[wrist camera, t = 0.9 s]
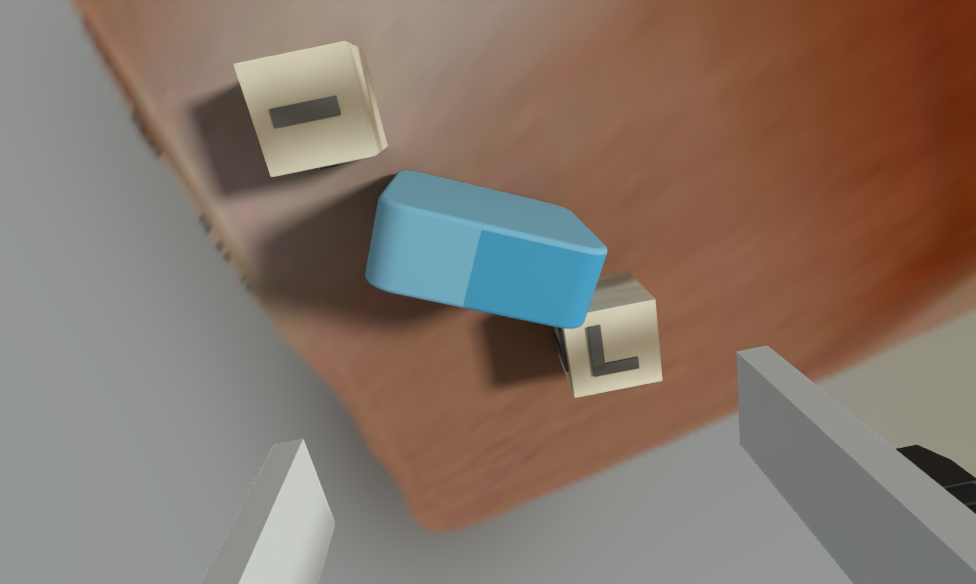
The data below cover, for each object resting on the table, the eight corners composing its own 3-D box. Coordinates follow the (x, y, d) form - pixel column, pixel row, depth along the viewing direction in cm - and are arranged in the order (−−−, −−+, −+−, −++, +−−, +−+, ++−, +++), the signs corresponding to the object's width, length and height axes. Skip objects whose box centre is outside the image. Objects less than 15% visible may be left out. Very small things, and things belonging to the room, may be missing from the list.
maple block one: (267, 69, 34) (228, 64, 28) (363, 49, 34) (344, 40, 28) (297, 167, 36) (267, 181, 30) (388, 149, 36) (375, 160, 30)
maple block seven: (544, 286, 40) (559, 319, 34) (627, 270, 40) (656, 300, 34) (556, 360, 42) (572, 402, 36) (634, 344, 42) (663, 384, 36)
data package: (388, 230, 38) (359, 288, 27) (400, 166, 36) (374, 199, 25) (551, 266, 39) (589, 335, 28) (569, 207, 38) (616, 254, 27)
